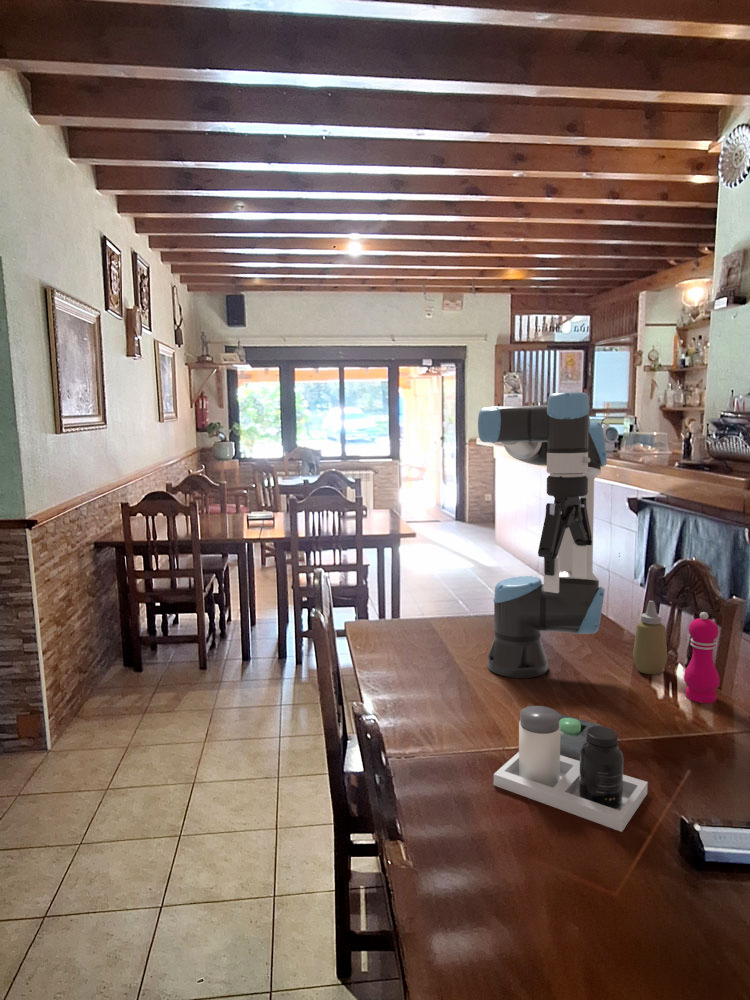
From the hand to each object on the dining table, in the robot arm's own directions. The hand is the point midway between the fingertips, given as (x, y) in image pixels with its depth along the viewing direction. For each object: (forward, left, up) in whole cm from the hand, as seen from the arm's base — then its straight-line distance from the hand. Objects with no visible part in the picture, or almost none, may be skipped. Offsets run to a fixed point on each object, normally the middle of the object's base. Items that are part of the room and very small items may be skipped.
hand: (565, 584), depth 127 cm
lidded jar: (+3, -17, -31) cm, 36 cm away
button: (+2, -2, -30) cm, 30 cm away
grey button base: (+2, -2, -32) cm, 32 cm away
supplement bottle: (+14, -17, -31) cm, 38 cm away
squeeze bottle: (+3, +47, -32) cm, 57 cm away
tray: (+8, -17, -32) cm, 37 cm away
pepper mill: (+17, +37, -32) cm, 52 cm away
